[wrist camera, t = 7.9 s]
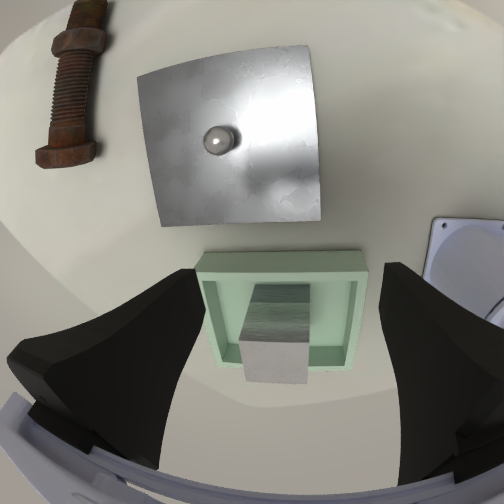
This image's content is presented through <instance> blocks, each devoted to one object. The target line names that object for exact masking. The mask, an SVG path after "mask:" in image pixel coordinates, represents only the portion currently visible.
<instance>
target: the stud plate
mask: <svg viewBox="0 0 504 504" xmlns="http://www.w3.org/2000/svg"><path fill="white" fill-rule="evenodd" d="M137 83H138V93H139V101H140V110H141V117H142V125H143V131H144V138H145V145H146V151H147V157H148V162H149V168H150V173H151V179H152V184H153V189H154V194H155V199H156V204H157V208H158V213H159V217H160V222H161V226H162V227H172V226H190V225H210V224H232V223H259V222H294V221H321V206H320V175H319V155H318V139H317V125H316V113H315V102H314V92H313V83H312V74H311V66H310V59H309V51H308V45H298V46H281V47H270V48H260V49H252V50H245V51H238V52H232V53H226V54H221V55H216V56H211V57H206V58H201V59H197V60H193V61H189V62H185V63H181V64H177V65H174V66H170V67H167V68H163V69H160V70H157V71H154V72H151V73H148V74H145V75H142V76H139V77H137Z"/></svg>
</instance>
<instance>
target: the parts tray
mask: <svg viewBox="0 0 504 504" xmlns="http://www.w3.org/2000/svg"><path fill="white" fill-rule="evenodd" d="M194 269H195V270H196V274H197V278H198V281H199V285H200V289H201V293H202V296H203V300H204V304H205V307H206V313H205V316H204V320H203V321H204V324H205V328H206V331H207V335H208V338H209V342H210V345H211V349H212V352H213V356H214V359H215V362H216V365H217V366H222V367H232V368H243V363H242V358H241V353H240V348H239V343H238V339H239V336H240V332H241V329H242V326H243V323H244V319H245V316H246V313H247V309H248V306H249V303H250V299H251V296H252V293H253V289H254V286H255V284H310V341H309V361H308V371H348V370H351V368H352V364H353V359H354V355H355V350H356V346H357V341H358V336H359V331H360V325H361V320H362V314H363V308H364V302H365V295H366V288H367V281H368V273H369V271H368V268H367V265H366V263H365V260H364V257H363V255H362V252H361V250H357V251H285V252H214V253H204V254H203V256H202V257H201V258H200V260H199V261H198V263H197V264H196V266H195V267H194Z"/></svg>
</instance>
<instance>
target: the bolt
mask: <svg viewBox="0 0 504 504" xmlns="http://www.w3.org/2000/svg"><path fill="white" fill-rule="evenodd" d="M107 5H108V2H107V0H77V1H75V2H74V5H73V8H72V11H71V14H70V17H69V21H68V24H67V28H66V30H65V31H63V32H61V33H60V34H59V35H57V36H56V37H55V38H54V40H53V44H52V48H51V51H52V54H53V55H54V56H55V57H58V58H60V59H59V60H58V61H59V63H58V67H57V69H58V70H57V71H56V73H57V74H56V77H57V78H56V79H55V81H56V82H55V83H54V84H55V86H54V88H55V90H54V91H53V92H55V93H54V94H53V96H55V97H53V100H54V101H53V102H52V103H53V104H54V105H53V106H52V108H53V109H52V110H51V111H52V112H53V113H52V114H51V115H52V117H51V118H50V119H52V121H51V122H50V127H49V138H48V145H46V146H44V147H41V148H39V149H37V150H35V158H36V164H37V165H38V166H39V167H41V168H43V169H53V168H66V167H73V166H77V165H82V164H85V163H88V162H91V161H93V159H94V157H95V152H96V142H91V141H85V128H86V124H85V120H84V119H85V116H84V115H85V114H86V113H85V112H84V111H85V110H86V109H85V108H84V107H86V106H87V105H85V103H87V101H85V100H86V99H87V97H86V96H87V95H88V94H87V93H86V92H87V91H88V89H87V88H88V87H89V86H88V84H89V82H88V80H90V78H88V77H89V76H91V75H90V74H89V73H91V70H90V69H92V67H91V65H93V64H92V63H91V62H93V60H92V58H94V56H96V55H99V54H100V53H101V52H103V51H104V47H105V42H106V34H105V32H104V31H103V30H101V29H100V27H101V24H102V21H103V17H104V14H105V11H106V8H107Z"/></svg>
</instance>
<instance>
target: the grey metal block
mask: <svg viewBox="0 0 504 504" xmlns="http://www.w3.org/2000/svg"><path fill="white" fill-rule="evenodd" d="M309 341H310V284H255V286H254V289H253V293H252V296H251V299H250V303H249V306H248V309H247V313H246V316H245V319H244V323H243V326H242V329H241V332H240V336H239V339H238V343H239V348H240V353H241V358H242V363H243V368H244V373H245V377H246V381H249V382H263V383H283V384H307V377H308V361H309Z"/></svg>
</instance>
